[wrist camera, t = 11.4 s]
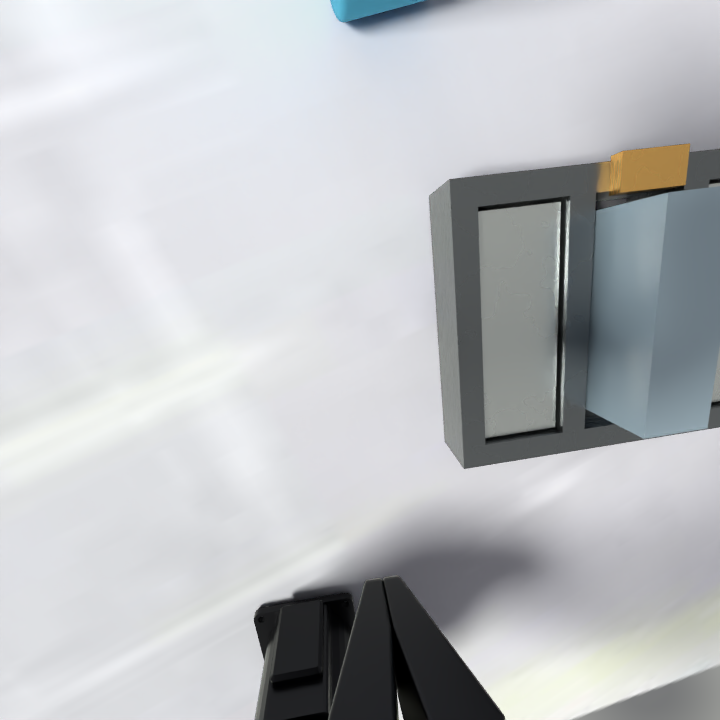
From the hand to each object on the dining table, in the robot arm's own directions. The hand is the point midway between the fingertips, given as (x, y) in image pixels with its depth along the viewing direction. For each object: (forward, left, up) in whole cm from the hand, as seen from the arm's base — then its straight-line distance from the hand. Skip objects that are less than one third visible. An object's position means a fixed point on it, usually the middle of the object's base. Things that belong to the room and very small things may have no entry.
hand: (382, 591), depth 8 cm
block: (+4, -14, -12) cm, 19 cm away
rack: (+4, -14, -12) cm, 19 cm away
